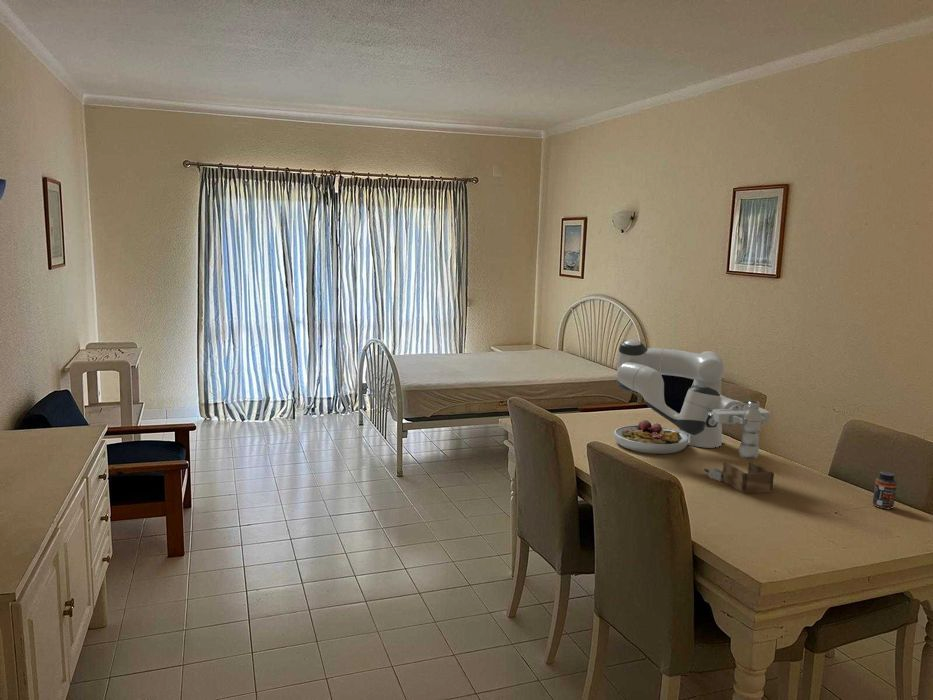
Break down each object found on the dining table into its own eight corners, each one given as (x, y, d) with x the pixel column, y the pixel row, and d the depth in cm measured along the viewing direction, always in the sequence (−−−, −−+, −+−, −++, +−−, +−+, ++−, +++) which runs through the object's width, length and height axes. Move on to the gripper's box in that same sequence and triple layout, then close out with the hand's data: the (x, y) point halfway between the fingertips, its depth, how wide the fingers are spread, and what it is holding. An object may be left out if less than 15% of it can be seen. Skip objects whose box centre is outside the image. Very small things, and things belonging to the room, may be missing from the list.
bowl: (696, 457, 278) (698, 438, 277) (621, 455, 279) (622, 436, 277) (675, 436, 308) (677, 419, 307) (607, 435, 308) (608, 417, 307)
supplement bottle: (882, 510, 225) (886, 476, 223) (868, 503, 231) (872, 470, 229) (898, 509, 226) (902, 475, 225) (883, 502, 232) (887, 470, 230)
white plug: (701, 474, 256) (702, 467, 256) (707, 473, 258) (708, 465, 257) (726, 483, 247) (727, 475, 247) (732, 482, 249) (733, 474, 248)
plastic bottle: (737, 458, 242) (743, 402, 239) (739, 454, 248) (744, 399, 245) (757, 462, 239) (763, 405, 236) (758, 457, 245) (764, 401, 242)
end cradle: (722, 480, 250) (723, 462, 249) (749, 479, 252) (751, 461, 251) (743, 493, 238) (745, 474, 236) (772, 492, 240) (774, 473, 239)
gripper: (705, 404, 251) (727, 413, 238) (756, 402, 255) (780, 412, 242) (704, 421, 252) (725, 431, 239) (754, 419, 256) (778, 429, 243)
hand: (753, 421), depth 240 cm, fingers closed on plastic bottle, 6 cm apart
